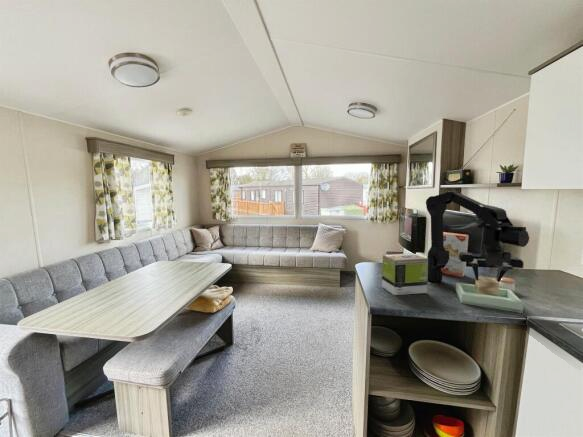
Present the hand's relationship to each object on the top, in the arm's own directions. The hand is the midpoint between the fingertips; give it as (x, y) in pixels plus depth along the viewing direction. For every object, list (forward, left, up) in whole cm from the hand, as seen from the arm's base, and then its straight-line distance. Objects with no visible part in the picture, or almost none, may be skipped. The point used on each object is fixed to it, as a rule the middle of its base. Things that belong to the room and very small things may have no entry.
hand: (487, 281), depth 98 cm
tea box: (-29, -3, -8) cm, 30 cm away
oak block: (0, 0, -4) cm, 4 cm away
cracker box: (-9, +33, -8) cm, 35 cm away
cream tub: (+10, +16, -8) cm, 20 cm away
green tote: (0, 0, -8) cm, 8 cm away
